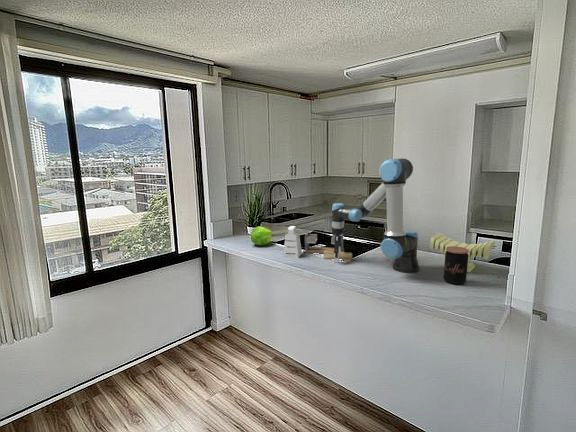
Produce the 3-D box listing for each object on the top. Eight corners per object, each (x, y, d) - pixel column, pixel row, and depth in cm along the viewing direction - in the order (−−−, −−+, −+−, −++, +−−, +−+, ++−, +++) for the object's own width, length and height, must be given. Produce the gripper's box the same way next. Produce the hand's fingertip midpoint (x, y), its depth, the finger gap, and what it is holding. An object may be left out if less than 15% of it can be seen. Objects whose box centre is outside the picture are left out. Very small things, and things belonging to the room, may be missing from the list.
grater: (283, 257, 218) (282, 228, 214) (287, 252, 228) (287, 225, 224) (298, 258, 215) (297, 229, 211) (302, 253, 225) (301, 225, 221)
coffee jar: (440, 281, 171) (442, 249, 168) (447, 276, 178) (450, 244, 175) (461, 287, 163) (464, 253, 160) (468, 281, 171) (471, 248, 167)
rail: (350, 261, 206) (351, 254, 205) (323, 259, 213) (323, 251, 212) (352, 260, 210) (352, 252, 209) (325, 257, 216) (325, 250, 215)
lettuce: (277, 243, 254) (278, 227, 247) (258, 252, 240) (259, 236, 234) (264, 235, 262) (265, 221, 256) (245, 244, 249) (245, 229, 243)
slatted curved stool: (428, 265, 195) (430, 237, 192) (437, 259, 207) (439, 232, 203) (485, 277, 175) (488, 246, 172) (491, 269, 186) (494, 240, 183)
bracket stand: (342, 255, 218) (342, 236, 216) (303, 253, 225) (303, 235, 222) (343, 249, 231) (344, 232, 228) (306, 248, 237) (306, 230, 235)
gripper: (342, 232, 194) (341, 265, 198) (345, 223, 218) (344, 253, 222) (329, 231, 196) (329, 264, 200) (334, 223, 220) (333, 252, 224)
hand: (337, 259), depth 211 cm, fingers open, 13 cm apart
